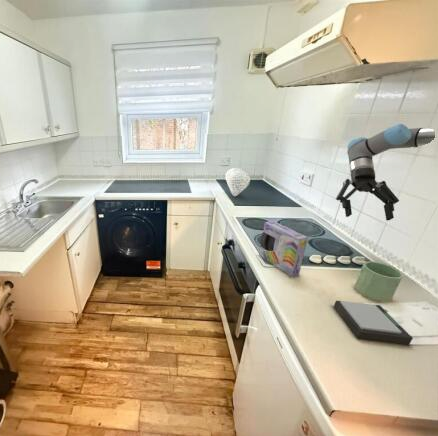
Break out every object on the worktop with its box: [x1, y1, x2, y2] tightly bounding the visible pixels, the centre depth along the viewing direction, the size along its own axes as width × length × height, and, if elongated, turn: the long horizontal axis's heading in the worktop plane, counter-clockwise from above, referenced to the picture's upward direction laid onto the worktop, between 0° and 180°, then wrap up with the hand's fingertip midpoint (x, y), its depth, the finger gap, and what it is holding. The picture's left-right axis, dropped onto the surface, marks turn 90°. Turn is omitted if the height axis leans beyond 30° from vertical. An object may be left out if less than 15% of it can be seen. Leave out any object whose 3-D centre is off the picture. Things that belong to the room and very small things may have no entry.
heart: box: [224, 167, 251, 197], centre depth 194 cm, size 28×16×22 cm, turn 175°
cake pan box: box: [259, 220, 308, 277], centre depth 102 cm, size 19×5×18 cm, turn 18°
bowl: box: [354, 260, 404, 303], centre depth 86 cm, size 10×10×10 cm
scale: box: [333, 300, 414, 347], centre depth 74 cm, size 13×13×4 cm
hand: (369, 217), depth 93 cm, fingers open, 13 cm apart
